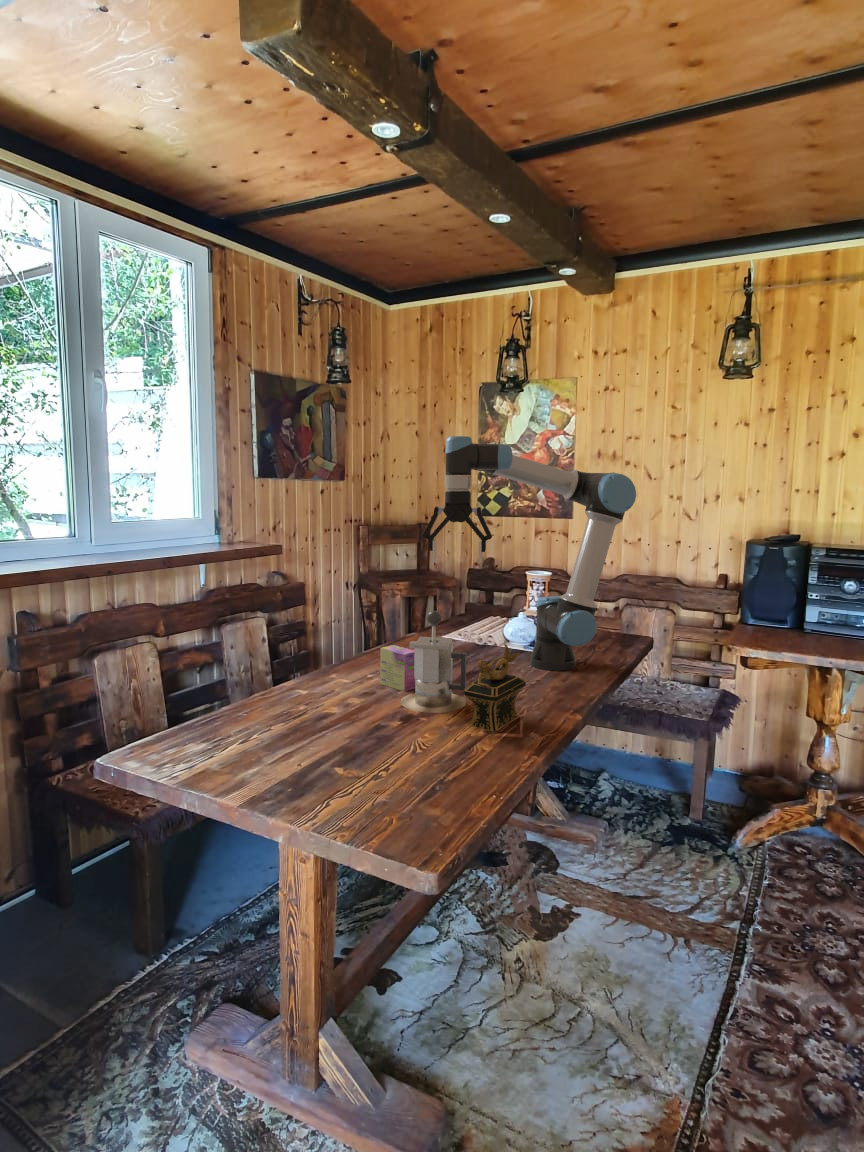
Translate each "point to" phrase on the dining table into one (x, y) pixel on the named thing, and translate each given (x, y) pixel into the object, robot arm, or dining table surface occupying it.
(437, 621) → the plunger
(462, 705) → the beige plate
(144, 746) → the dining table surface
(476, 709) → the decorative box
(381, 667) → the box
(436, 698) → the carafe
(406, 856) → the dining table surface
